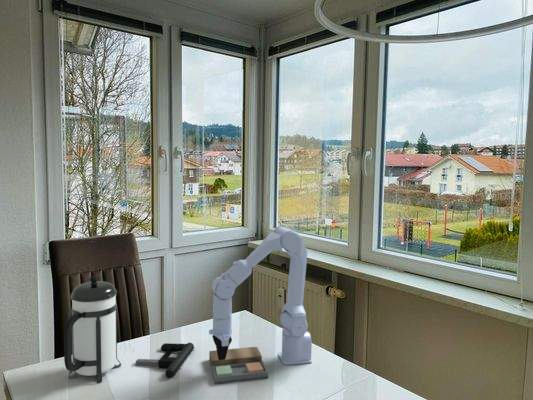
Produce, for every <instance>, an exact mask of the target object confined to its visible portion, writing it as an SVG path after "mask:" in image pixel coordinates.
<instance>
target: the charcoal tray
mask: <svg viewBox="0 0 533 400" xmlns="http://www.w3.org/2000/svg"><path fill="white" fill-rule="evenodd" d="M257 362H260V364H261V365H262V367H263V371H262V372H253V373H247V372H246V364H248V363H257ZM257 362H248V363H238V364H228V365H218V366H229V365H230V367H231V370H232V375H224V376H217V375H216V371H215V367H218V366H214V365H212V369H211V372H212V377H213V381H214V384H215V385H219V384H220V385H221V384H228V383H229V384H230V383H237V382H247V381H255V380H265V379H269V370H268V368H267V366H266V365H265V362H264V360H263V359H262V361H257Z"/></svg>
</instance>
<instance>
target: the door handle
mask: <svg viewBox="0 0 533 400" xmlns="http://www.w3.org/2000/svg"><path fill="white" fill-rule="evenodd" d="M160 351H161V352H164V354H163V355H162V356H161V357H160V358H159V359H154V358H153V359H149V358H148V359H147V358H145V359H144V358H138V359H136V360H135V366H140V367H141V366H143V367H150V368H151V367H152V368H153V367H154V368H158V369H163V370H166V371H165V376H166V377H167V378H169V379H172V378H174V377H175V376H176V374H177V373H178V372H179V370H182V368H183V367H184V365H185V364H186V362H188V360H189V358H190V355H191V354H192V352H193V351H196V350H195V345H194V343H192V342H187V343H163V344H162V345H161V346H160ZM172 353H173V355H177V356H176V357H174V356H171V355H172Z"/></svg>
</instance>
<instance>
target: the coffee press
mask: <svg viewBox="0 0 533 400" xmlns="http://www.w3.org/2000/svg"><path fill="white" fill-rule="evenodd" d="M117 293H118V290H117V289H116V288H115V286H114V285H113V284H112V283H111V282H108V281H103V280H99V278H98V276H97V275H91V277H90V278H89V281H87V282H84V283H81V284H79V285H77V286H76V287H75V288H74V289H73V290H72V292H71V294H70V300H71V302H72V303H71V305H72V306H71V316H70V317H69V319H68V320H67V322H66V324H65V327H64V330H63V356H64V357H63V359H64V360H63V362H64V366H65V369H66V370H67V371H69V372H68V374H67V376H68V379H73V378H75V377H76V375H78V374H79V375H81V376H87V377H89V376H91V377H92V376H95V379H96V383H102V382H103V375H102V374H104V373H107V372H108V371H110V370H112V369H113V368H114V367H116V368H117V369H118V368H121V367H122V363H121V361H120V360H119V359H118V340H117V339H118V336H117V334H118V333H117V331H118V329H117V328H118V327H117V324H118V323H117V320H118V319H117V301H116V299H117V298H116V296H117ZM117 362H118V363H119V364H117ZM72 372H74V373H73V374H72ZM71 374H72V375H71Z"/></svg>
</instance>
